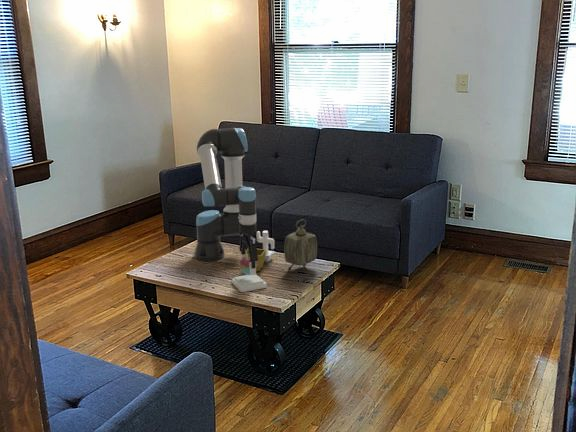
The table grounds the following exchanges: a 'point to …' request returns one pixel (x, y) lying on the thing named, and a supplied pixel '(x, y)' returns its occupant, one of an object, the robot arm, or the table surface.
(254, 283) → the pedestal
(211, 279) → the table surface
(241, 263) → the cupcake
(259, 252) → the flower pot
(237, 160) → the robot arm
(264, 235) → the figurine
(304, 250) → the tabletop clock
